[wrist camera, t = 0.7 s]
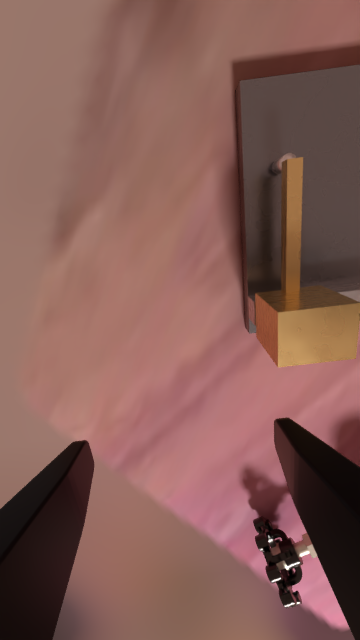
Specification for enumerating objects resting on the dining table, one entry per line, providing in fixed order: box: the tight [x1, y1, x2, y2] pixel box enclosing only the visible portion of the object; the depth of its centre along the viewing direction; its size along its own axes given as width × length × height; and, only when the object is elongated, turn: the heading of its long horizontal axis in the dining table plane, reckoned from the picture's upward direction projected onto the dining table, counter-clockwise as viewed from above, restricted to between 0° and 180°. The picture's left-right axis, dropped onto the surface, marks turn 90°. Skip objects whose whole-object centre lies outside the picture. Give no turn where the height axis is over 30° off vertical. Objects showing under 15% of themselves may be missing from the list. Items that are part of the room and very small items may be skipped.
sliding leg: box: [255, 153, 360, 367], centre depth 15 cm, size 4×10×6 cm, turn 7°
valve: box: [253, 516, 317, 608], centre depth 25 cm, size 7×7×12 cm
